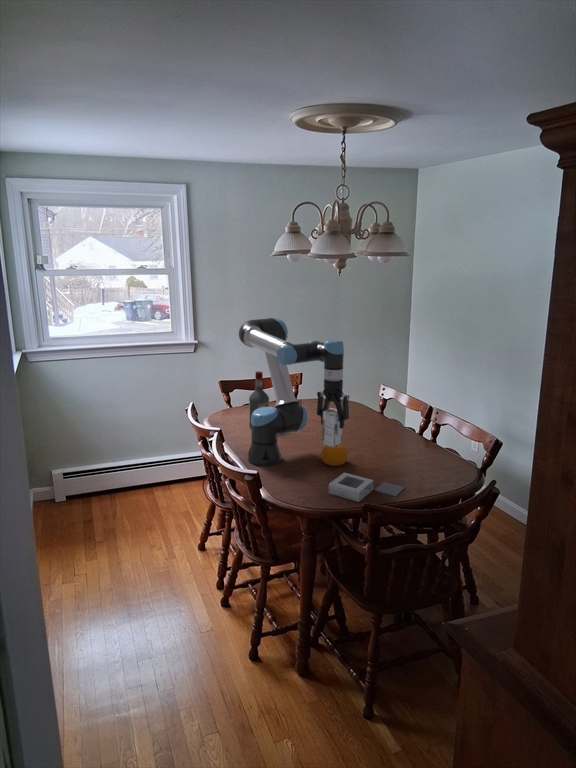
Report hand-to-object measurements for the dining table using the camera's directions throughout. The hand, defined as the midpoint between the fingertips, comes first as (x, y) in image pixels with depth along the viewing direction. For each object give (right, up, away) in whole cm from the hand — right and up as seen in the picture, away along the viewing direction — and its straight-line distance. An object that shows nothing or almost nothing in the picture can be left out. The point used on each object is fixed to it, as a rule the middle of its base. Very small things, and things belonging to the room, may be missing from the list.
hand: (332, 433), depth 215 cm
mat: (+22, -22, -6) cm, 32 cm away
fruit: (+2, -15, +20) cm, 25 cm away
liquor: (-33, -3, +65) cm, 74 cm away
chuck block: (+7, -22, -8) cm, 24 cm away
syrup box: (0, -5, +1) cm, 5 cm away
